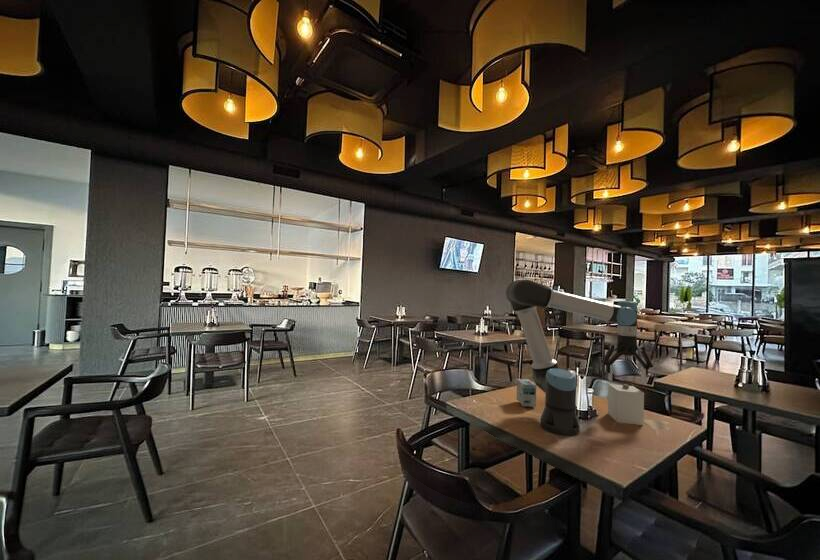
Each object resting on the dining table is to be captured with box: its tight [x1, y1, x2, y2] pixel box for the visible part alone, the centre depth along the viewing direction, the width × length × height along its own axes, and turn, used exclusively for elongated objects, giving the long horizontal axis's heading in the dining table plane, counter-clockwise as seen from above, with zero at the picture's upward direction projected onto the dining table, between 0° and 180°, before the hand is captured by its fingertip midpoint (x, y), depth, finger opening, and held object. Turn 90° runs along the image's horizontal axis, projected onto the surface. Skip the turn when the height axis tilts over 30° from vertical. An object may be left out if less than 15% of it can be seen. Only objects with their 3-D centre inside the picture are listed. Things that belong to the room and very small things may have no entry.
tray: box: [643, 418, 670, 431], centre depth 142 cm, size 11×11×1 cm
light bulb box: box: [516, 378, 537, 408], centre depth 164 cm, size 11×7×11 cm, turn 179°
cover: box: [607, 383, 645, 426], centre depth 148 cm, size 10×10×16 cm
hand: (626, 381), depth 148 cm, fingers open, 13 cm apart
